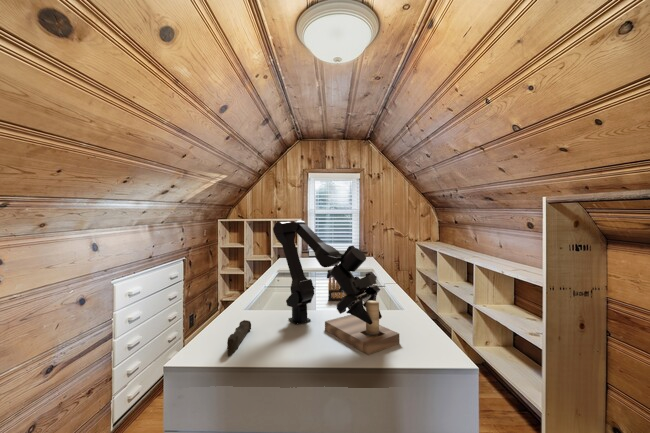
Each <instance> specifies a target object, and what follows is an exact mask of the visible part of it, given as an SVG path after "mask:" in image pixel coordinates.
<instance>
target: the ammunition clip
mask: <svg viewBox="0 0 650 433" xmlns="http://www.w3.org/2000/svg"><path fill="white" fill-rule="evenodd" d="M327 286H328V288H327V289H328V293H327V294H328V295H327V296H328V298H327V299H328V302H340V301H341V300H342V299H343V298H344V297H345V296H346V294H345V293H344V291H342V292H340V290H339V289H340V288H341V287H340V286H339V284H338V283H337V282H336V280H335V279H334V278H333V277H332V278H328V285H327Z"/></svg>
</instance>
